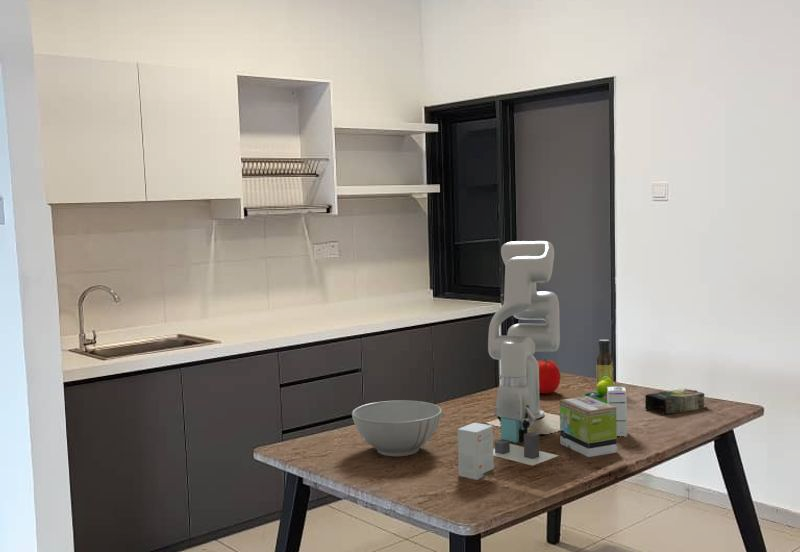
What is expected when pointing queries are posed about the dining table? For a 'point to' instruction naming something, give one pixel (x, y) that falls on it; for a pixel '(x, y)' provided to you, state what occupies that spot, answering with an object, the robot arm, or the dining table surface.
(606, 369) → the sauce bottle
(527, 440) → the post
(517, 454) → the board
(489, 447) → the small box
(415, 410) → the decorative bowl
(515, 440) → the teal rectangular block
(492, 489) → the dining table surface
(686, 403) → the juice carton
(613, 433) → the tea box
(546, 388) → the tomato
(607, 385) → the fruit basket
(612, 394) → the syrup box
